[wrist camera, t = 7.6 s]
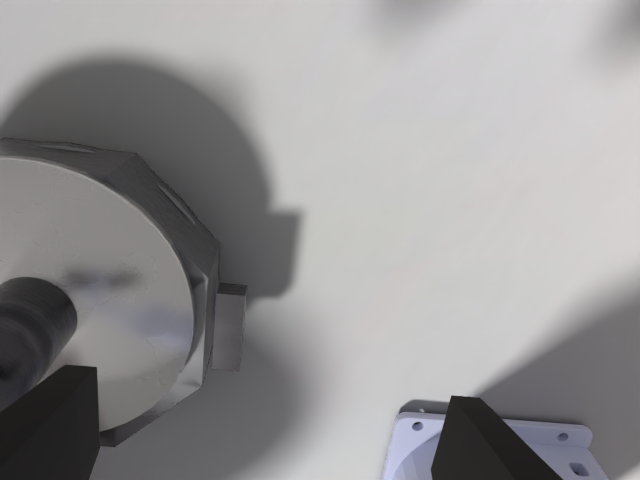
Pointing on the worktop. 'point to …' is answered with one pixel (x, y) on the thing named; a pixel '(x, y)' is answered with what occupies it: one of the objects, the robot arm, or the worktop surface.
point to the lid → (88, 289)
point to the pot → (195, 249)
